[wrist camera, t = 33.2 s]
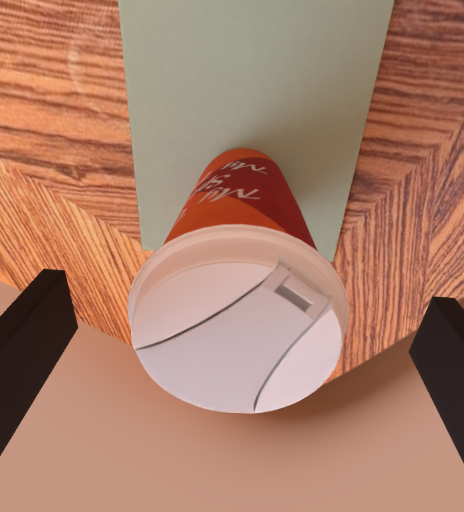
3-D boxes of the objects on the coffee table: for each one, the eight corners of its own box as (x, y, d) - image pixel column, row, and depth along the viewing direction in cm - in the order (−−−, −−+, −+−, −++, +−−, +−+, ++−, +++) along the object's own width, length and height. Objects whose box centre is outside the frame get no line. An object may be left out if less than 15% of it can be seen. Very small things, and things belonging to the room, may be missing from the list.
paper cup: (232, 101, 20) (209, 190, 9) (326, 181, 23) (412, 340, 11) (160, 200, 24) (73, 362, 12) (248, 261, 26) (249, 448, 14)
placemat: (454, -269, 14) (460, -277, 13) (332, 259, 26) (333, 261, 26) (92, -288, 14) (88, -296, 13) (143, 247, 26) (141, 249, 26)
